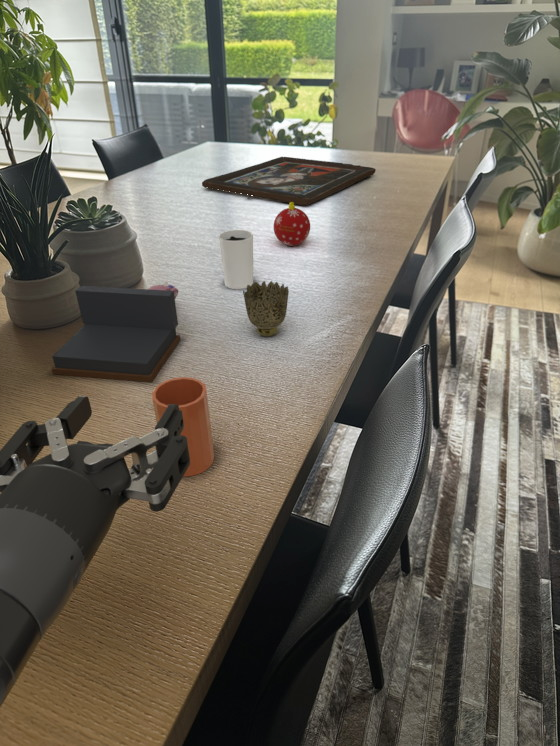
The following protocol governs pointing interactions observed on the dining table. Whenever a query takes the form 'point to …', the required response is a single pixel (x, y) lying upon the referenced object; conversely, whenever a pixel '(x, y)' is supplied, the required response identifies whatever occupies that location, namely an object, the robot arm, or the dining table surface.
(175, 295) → the video game controller
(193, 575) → the dining table surface
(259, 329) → the cup
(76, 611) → the dining table surface
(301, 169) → the religious icon
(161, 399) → the cup
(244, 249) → the white cylindrical container
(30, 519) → the robot arm
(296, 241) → the christmas ornament
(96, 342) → the sofa
